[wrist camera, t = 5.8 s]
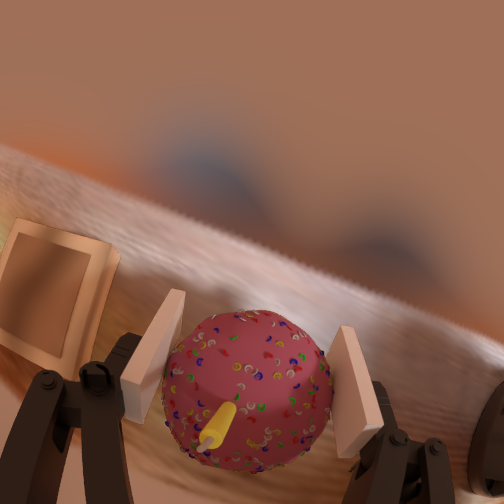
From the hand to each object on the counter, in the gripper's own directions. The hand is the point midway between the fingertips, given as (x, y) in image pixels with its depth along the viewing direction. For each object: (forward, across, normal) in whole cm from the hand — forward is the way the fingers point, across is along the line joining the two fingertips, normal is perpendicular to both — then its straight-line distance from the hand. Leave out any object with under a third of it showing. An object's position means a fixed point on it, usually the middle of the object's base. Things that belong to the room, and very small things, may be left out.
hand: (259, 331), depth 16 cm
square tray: (+3, -16, -5) cm, 17 cm away
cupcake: (0, 0, -5) cm, 5 cm away
